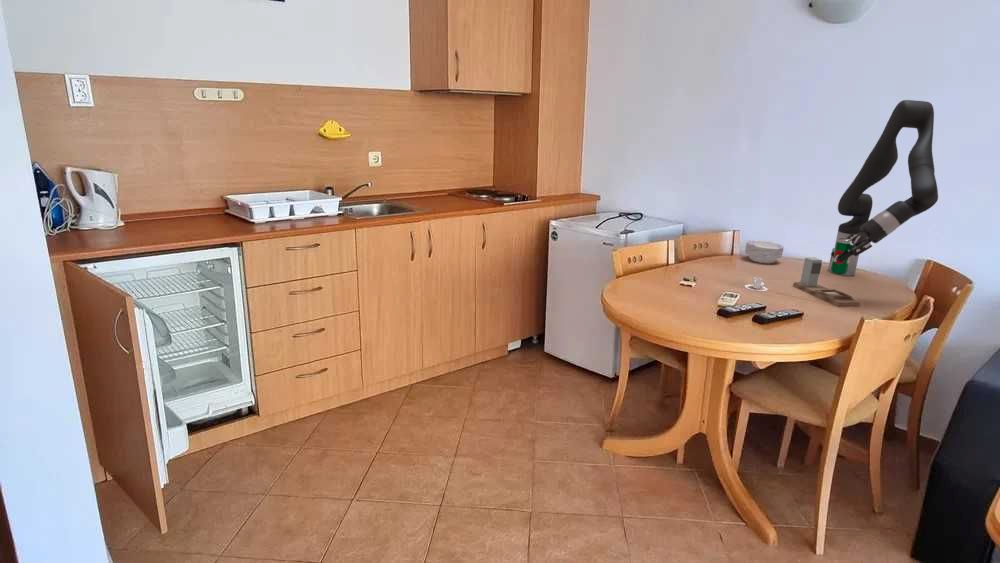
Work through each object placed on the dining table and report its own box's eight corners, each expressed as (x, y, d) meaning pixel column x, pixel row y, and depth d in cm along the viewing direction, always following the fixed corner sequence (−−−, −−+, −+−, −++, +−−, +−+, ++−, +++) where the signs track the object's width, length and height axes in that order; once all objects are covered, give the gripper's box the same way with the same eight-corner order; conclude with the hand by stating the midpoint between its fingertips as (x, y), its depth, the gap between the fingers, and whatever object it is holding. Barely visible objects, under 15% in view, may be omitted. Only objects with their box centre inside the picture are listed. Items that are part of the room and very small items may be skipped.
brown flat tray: (793, 286, 227) (794, 280, 226) (811, 285, 228) (812, 279, 228) (839, 306, 204) (840, 300, 204) (859, 306, 206) (860, 299, 205)
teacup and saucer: (756, 284, 228) (758, 274, 227) (773, 290, 221) (775, 280, 220) (739, 286, 224) (741, 276, 223) (756, 293, 217) (758, 282, 216)
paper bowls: (787, 266, 257) (790, 248, 255) (752, 264, 256) (755, 246, 254) (771, 257, 271) (774, 240, 269) (738, 256, 271) (741, 239, 269)
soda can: (848, 275, 207) (855, 241, 204) (833, 273, 208) (839, 240, 205) (843, 271, 212) (850, 238, 208) (828, 270, 213) (834, 237, 209)
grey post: (800, 283, 226) (805, 257, 223) (809, 282, 227) (814, 257, 224) (808, 286, 221) (814, 260, 218) (818, 286, 222) (823, 260, 219)
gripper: (864, 215, 210) (821, 246, 215) (882, 222, 196) (836, 255, 201) (877, 230, 211) (834, 261, 216) (896, 239, 197) (850, 271, 202)
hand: (835, 258), depth 209 cm, fingers closed on soda can, 5 cm apart
